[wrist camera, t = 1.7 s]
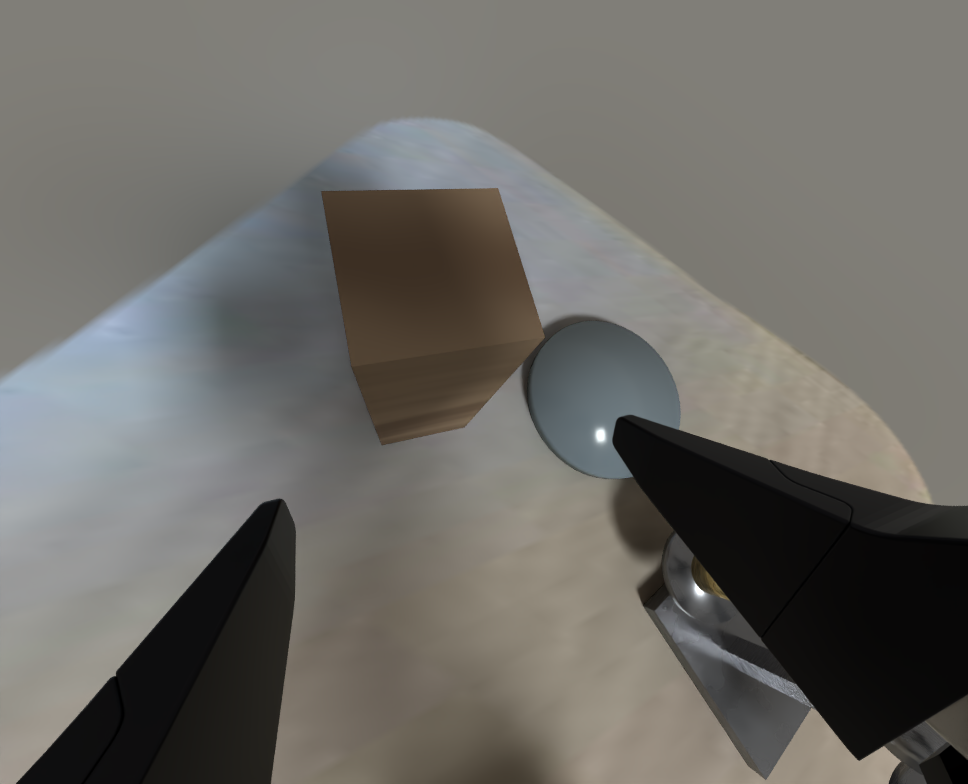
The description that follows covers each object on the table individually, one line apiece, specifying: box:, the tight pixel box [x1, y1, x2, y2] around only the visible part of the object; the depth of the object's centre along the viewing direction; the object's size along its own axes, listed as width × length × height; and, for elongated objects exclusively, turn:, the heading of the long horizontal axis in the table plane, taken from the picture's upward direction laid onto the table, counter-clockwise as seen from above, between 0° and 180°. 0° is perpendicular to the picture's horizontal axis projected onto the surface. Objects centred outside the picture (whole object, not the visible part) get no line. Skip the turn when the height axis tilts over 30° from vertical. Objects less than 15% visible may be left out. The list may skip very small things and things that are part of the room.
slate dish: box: [527, 321, 680, 479], centre depth 24 cm, size 11×11×1 cm
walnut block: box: [321, 188, 545, 445], centre depth 15 cm, size 5×5×13 cm
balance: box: [644, 531, 947, 784], centre depth 16 cm, size 17×6×10 cm, turn 33°
